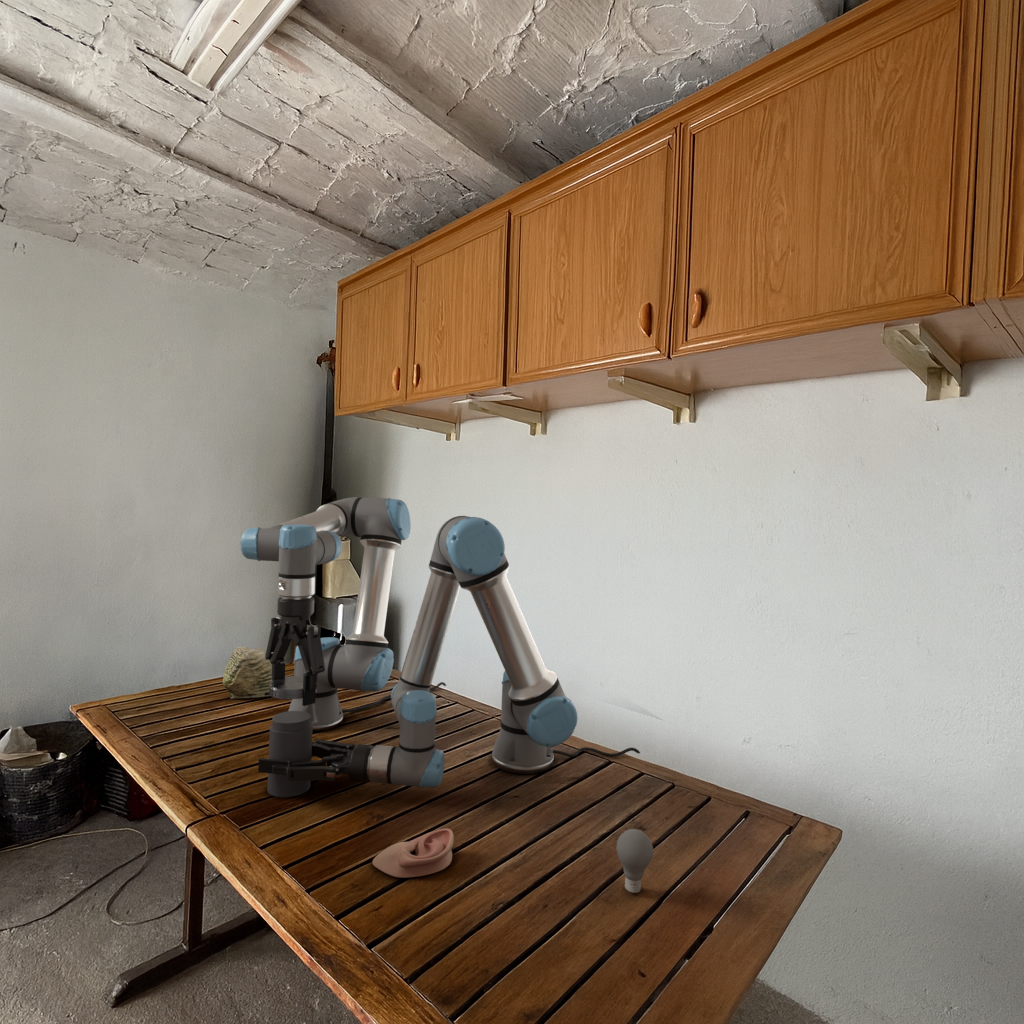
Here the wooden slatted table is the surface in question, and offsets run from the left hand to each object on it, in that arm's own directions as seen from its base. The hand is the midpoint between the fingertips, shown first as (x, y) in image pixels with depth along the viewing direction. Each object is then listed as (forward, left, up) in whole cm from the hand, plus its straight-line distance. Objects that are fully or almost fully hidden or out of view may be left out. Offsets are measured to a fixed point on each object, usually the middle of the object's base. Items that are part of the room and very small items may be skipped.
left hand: (293, 698), depth 137 cm
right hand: (+3, -4, -13) cm, 14 cm away
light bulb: (-18, +73, -19) cm, 78 cm away
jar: (0, 0, -19) cm, 19 cm away
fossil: (-27, -63, -19) cm, 71 cm away
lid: (0, 0, +3) cm, 3 cm away
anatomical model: (+1, +40, -19) cm, 45 cm away
